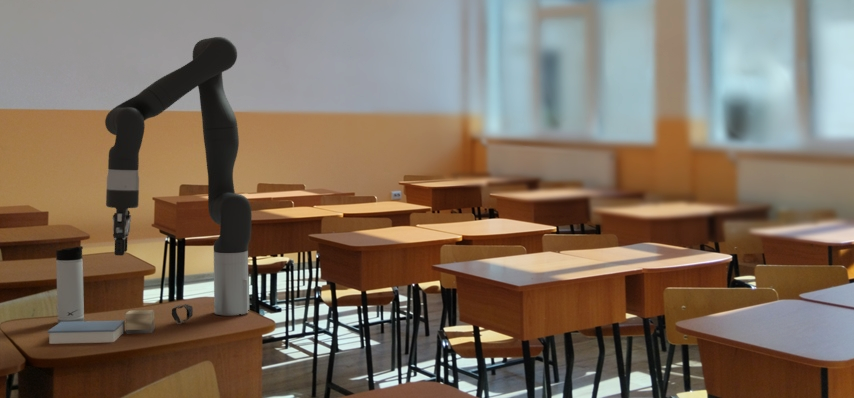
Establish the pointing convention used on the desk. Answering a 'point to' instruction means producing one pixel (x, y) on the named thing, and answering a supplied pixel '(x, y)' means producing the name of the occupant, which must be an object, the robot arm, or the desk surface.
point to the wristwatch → (189, 313)
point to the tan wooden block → (140, 321)
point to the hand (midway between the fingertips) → (120, 253)
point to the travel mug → (70, 284)
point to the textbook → (86, 332)
